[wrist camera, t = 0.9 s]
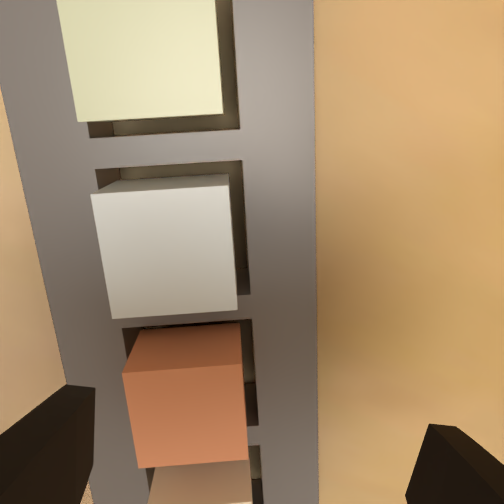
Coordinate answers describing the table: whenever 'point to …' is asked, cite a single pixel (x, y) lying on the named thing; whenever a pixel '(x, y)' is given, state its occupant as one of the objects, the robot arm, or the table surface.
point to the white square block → (167, 245)
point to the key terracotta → (187, 395)
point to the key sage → (142, 58)
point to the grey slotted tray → (256, 228)
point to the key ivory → (203, 483)
